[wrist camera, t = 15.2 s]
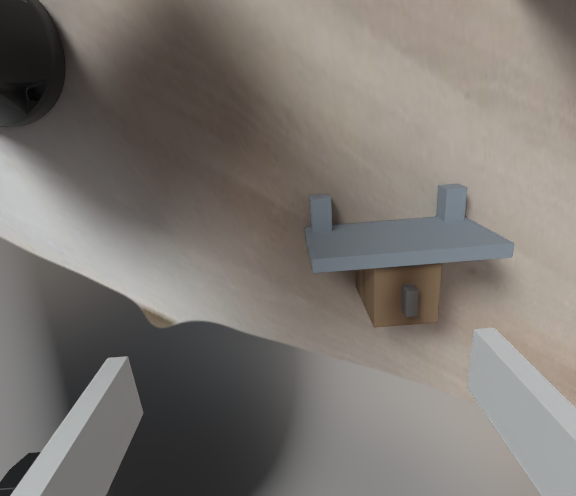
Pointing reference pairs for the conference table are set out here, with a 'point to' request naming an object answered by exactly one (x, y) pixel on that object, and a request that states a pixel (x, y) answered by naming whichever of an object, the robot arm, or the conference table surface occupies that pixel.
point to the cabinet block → (400, 294)
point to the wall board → (401, 237)
